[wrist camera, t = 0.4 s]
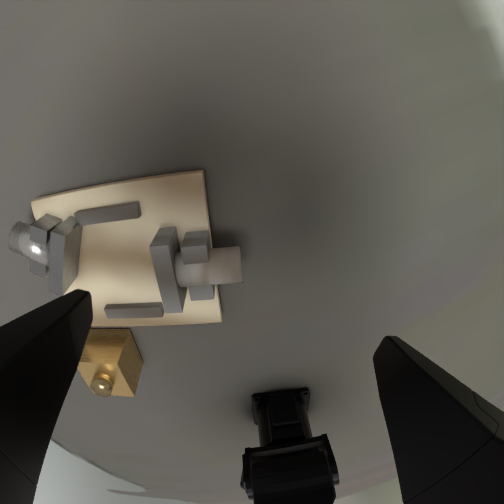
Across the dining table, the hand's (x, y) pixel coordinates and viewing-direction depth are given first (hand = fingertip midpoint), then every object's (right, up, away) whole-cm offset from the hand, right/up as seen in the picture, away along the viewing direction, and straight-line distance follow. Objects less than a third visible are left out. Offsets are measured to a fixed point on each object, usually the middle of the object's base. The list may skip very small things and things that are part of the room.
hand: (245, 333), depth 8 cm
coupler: (-13, -7, +18) cm, 23 cm away
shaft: (-16, +3, +11) cm, 19 cm away
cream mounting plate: (-10, +2, +13) cm, 17 cm away
